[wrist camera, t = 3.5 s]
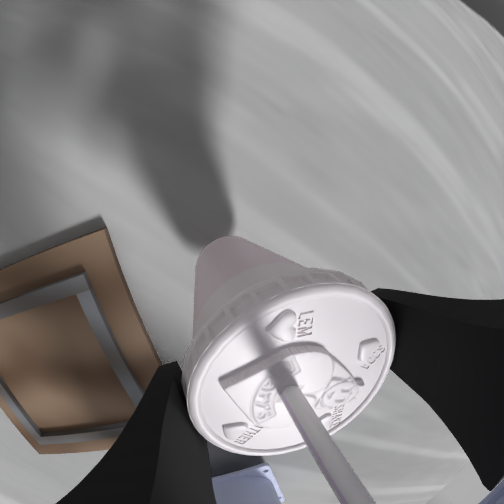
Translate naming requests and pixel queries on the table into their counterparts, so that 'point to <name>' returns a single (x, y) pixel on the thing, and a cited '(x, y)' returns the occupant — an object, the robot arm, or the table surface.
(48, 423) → the holder
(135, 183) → the table surface
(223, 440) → the smoothie
